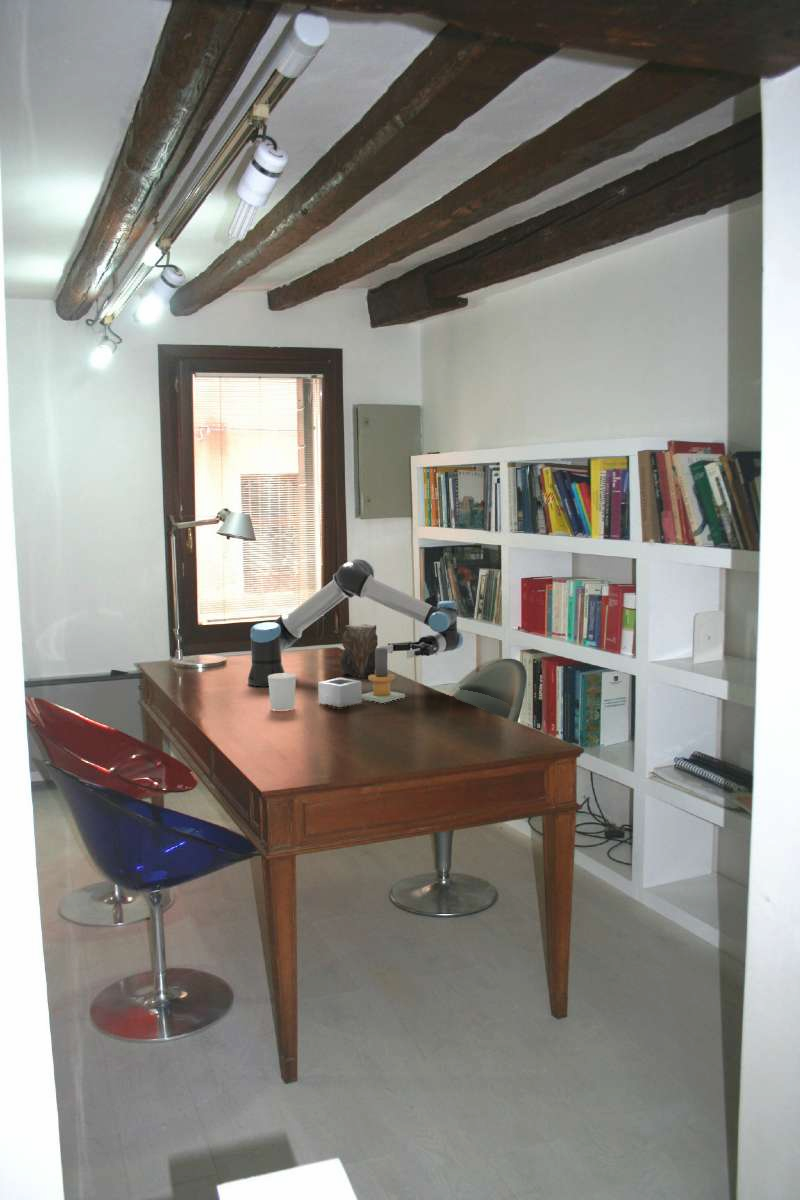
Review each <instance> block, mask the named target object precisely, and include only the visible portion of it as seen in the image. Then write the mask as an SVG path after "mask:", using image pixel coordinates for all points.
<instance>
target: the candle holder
mask: <svg viewBox="0 0 800 1200" xmlns="http://www.w3.org/2000/svg"><path fill="white" fill-rule="evenodd" d="M296 678H297V675H296V674H295V673H289V672H285V673H277V674H271V675H269V676H268V683H269V687H268V692H269V703H270V704H269V705H270V710H271V709H275V710H286V709H292V708H294V707H295V706H296V683H297V682H296ZM295 708H296V707H295Z"/></svg>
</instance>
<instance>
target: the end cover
mask: <svg viewBox="0 0 800 1200" xmlns="http://www.w3.org/2000/svg"><path fill="white" fill-rule="evenodd" d="M388 668H389V667H388V653H387V648H380V647H376V649H375V673H374V674H371V675H368V676H367V678H368V681H370V682H372V687H373V690H372V692H373V695H374V696H389V695H390V691H391V682H393V681H395V679H396V675H395V674H392V673H388V672H389V671H388Z"/></svg>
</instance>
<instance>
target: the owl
mask: <svg viewBox="0 0 800 1200" xmlns="http://www.w3.org/2000/svg"><path fill="white" fill-rule="evenodd" d="M344 629H345V631H344V633H343V635H342V639H341V642H342V647H343V649H344V650H343V652H342V655H341V659H340V664H341V668H342V671H343V675H345V674H349V675H348V676H350V675H355V676H360V677H359V678H362V677H363V676H365V677H367V676H366V675H368V676H369V675H370V674H372V673H374V674H376V672H375V649H376V648H378V647H377V646H378V638H379V637H378V635H377V625H376V624H375V625H371V624H364V623H363V624H360V625H350V624H348V625H345V626H344ZM355 676H354V677H355ZM363 678H364V677H363Z"/></svg>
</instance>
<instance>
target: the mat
mask: <svg viewBox="0 0 800 1200" xmlns="http://www.w3.org/2000/svg"><path fill="white" fill-rule="evenodd" d="M404 697H405V698H406V693H402V692H397V691H391V690H390V695H389V696H374V695H373V691H370V692H367V693H366V692H365V693H362V699H365V700H370V701H369V702H371V701H375V702H374V703H376V702H380V703H379V704H381V703H384V702H388V701H392V700H395V701H397V700H396V699H399V698H403V699H405V698H404ZM365 700H364V701H365ZM399 700H400V699H399ZM392 702H393V701H392ZM388 703H389V702H388ZM384 704H385V703H384Z"/></svg>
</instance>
